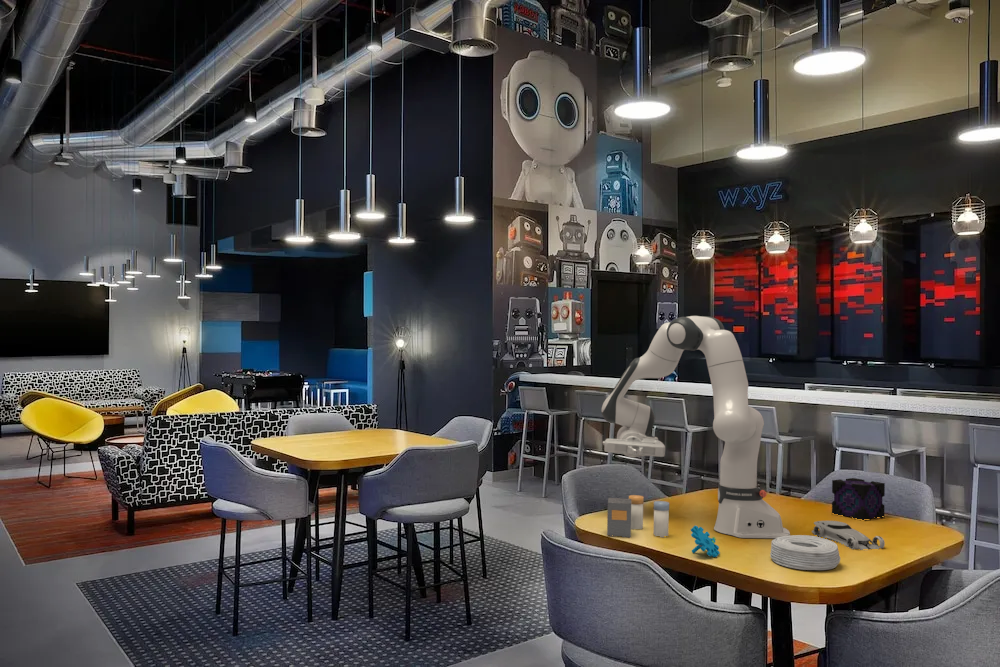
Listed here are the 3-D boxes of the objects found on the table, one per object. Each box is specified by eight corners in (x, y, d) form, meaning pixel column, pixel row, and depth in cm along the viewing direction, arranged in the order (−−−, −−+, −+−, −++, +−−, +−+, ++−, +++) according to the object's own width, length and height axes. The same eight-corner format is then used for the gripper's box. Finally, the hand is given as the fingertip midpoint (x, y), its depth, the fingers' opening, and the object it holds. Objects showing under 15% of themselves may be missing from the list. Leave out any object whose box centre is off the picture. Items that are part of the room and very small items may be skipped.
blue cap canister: (668, 534, 238) (668, 501, 238) (668, 537, 233) (669, 504, 233) (652, 533, 238) (653, 500, 239) (653, 536, 234) (654, 503, 234)
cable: (830, 557, 215) (831, 535, 215) (848, 575, 198) (848, 551, 198) (765, 553, 218) (765, 532, 218) (776, 570, 201) (777, 547, 201)
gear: (709, 555, 207) (688, 524, 213) (694, 568, 210) (673, 536, 215) (728, 554, 215) (707, 523, 221) (713, 566, 217) (693, 536, 223)
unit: (630, 531, 240) (631, 498, 241) (630, 537, 232) (631, 504, 232) (608, 529, 242) (608, 497, 242) (607, 536, 233) (607, 502, 233)
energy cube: (853, 511, 279) (853, 477, 280) (884, 517, 269) (884, 483, 269) (831, 514, 273) (832, 480, 274) (863, 521, 263) (863, 485, 263)
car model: (854, 552, 222) (854, 534, 222) (803, 532, 246) (803, 516, 246) (887, 550, 225) (888, 533, 225) (833, 531, 248) (834, 515, 248)
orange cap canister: (642, 527, 247) (643, 495, 247) (643, 530, 242) (643, 498, 242) (628, 526, 247) (628, 494, 248) (628, 529, 243) (628, 497, 243)
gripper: (602, 432, 269) (605, 440, 255) (662, 437, 268) (668, 445, 254) (601, 450, 269) (604, 459, 256) (660, 455, 268) (666, 464, 254)
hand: (636, 452), depth 255 cm, fingers closed
